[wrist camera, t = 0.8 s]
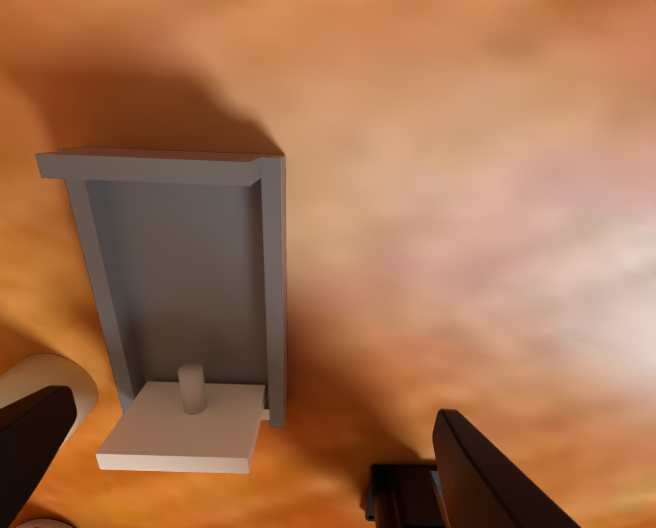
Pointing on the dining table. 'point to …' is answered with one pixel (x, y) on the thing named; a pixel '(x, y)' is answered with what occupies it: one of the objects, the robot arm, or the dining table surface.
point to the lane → (184, 263)
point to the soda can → (44, 524)
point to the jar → (49, 382)
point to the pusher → (187, 427)
